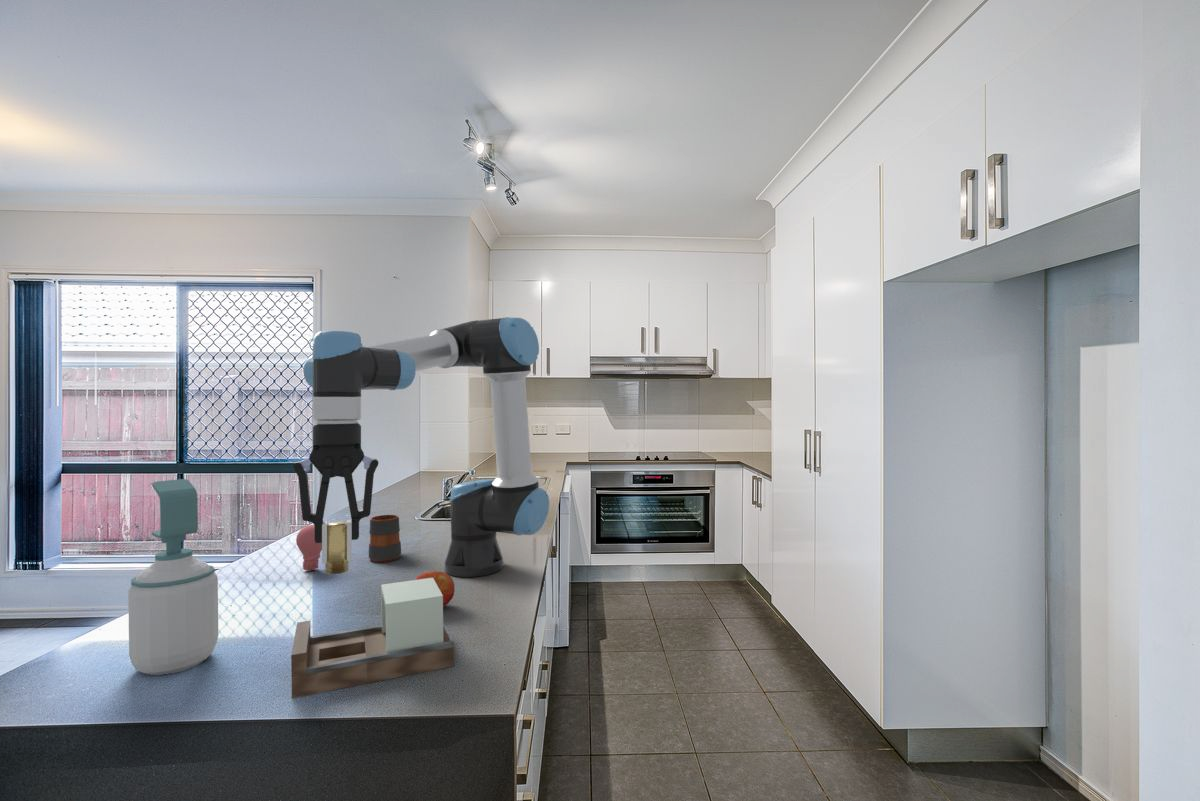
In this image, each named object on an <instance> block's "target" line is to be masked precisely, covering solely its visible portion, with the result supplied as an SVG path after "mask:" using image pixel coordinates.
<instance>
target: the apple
mask: <svg viewBox="0 0 1200 801" xmlns="http://www.w3.org/2000/svg"><path fill="white" fill-rule="evenodd" d="M426 578H433V579H434V580H435V582H436V584H437V586H438V588H439V590H440V591H441V593H442V595H443V608H444V607H445V606H446V607H447V605H448V604H450V602H451V600H452V599H453V598H454V596H455V591H456V590H455V582H454V580H453V578H452V577H451V575H449V574H447V573H445V571H444V572H443V571H440V570H428V571H425V572H423V573H420V574H419V575H418V576H417V577H416V578H415V580H419V579H426Z"/></svg>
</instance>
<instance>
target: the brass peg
mask: <svg viewBox="0 0 1200 801" xmlns="http://www.w3.org/2000/svg"><path fill="white" fill-rule="evenodd" d="M349 562H350V561H347V521H335V522H328V524H327V563H324V564H325V565H324V566H325V567H324V568H325V569H324V573H325V574H328V575H336V574H343V573H346V572H348V571H349V567H350V566H349V564H350V563H349Z"/></svg>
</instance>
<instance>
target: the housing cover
mask: <svg viewBox="0 0 1200 801" xmlns="http://www.w3.org/2000/svg"><path fill="white" fill-rule="evenodd" d="M380 592H381V593H380V596H381V598H380V599H381V625H382V633H385V632H386V653H388V652H393V651H399V650H404V649H410V648H415V647H421V646H426V645H432V644H437V643H443V625H444V607H443V595H442V593H441V591H440V590H439V588H438V586H437V584H436V582H435V580H434V579H433V578H426V579H419V580H416V579H413V580H412V579H411V580H405V581H398V582H392V583H384V584H381V589H380Z"/></svg>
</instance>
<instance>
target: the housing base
mask: <svg viewBox="0 0 1200 801" xmlns="http://www.w3.org/2000/svg"><path fill="white" fill-rule="evenodd" d="M294 634H295V635H294V637H293V643H292V648H291V656H290V659H291V661H290V662H291V665H290V666H291V675H290V676H291V699H296V698H301V697H306V696H310V695H315V694H321V693H325V692H330V691H334V690H341V689H345V688H350V687H355V686H360V685H365V684H370V683H371V684H372V683H376V682H381V681H385V680H390V679H395V678H401V677H404V676H405V677H407V676H410V675H411V676H412V675H415V674H420V673H425V672H431V671H434V670H440V669H445V668H451V667H455V643H454V640H451V639H450V636H449V634H448V631H447V630H446V628H445V625H444V624H443V643H437V644H432V645H426V646H421V647H415V648H410V649H404V650H399V651H393V652H388V653H386V632H385V633H382V624H381V625H380V624H379V625H374V626H368V627H362V628H356V629H350V630H343V631H337V632H330V633H326V634H325V633H324V634H319V635H313V636H312V635H311V620H305V621H299V622H297V624H296V627H295V632H294Z"/></svg>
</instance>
